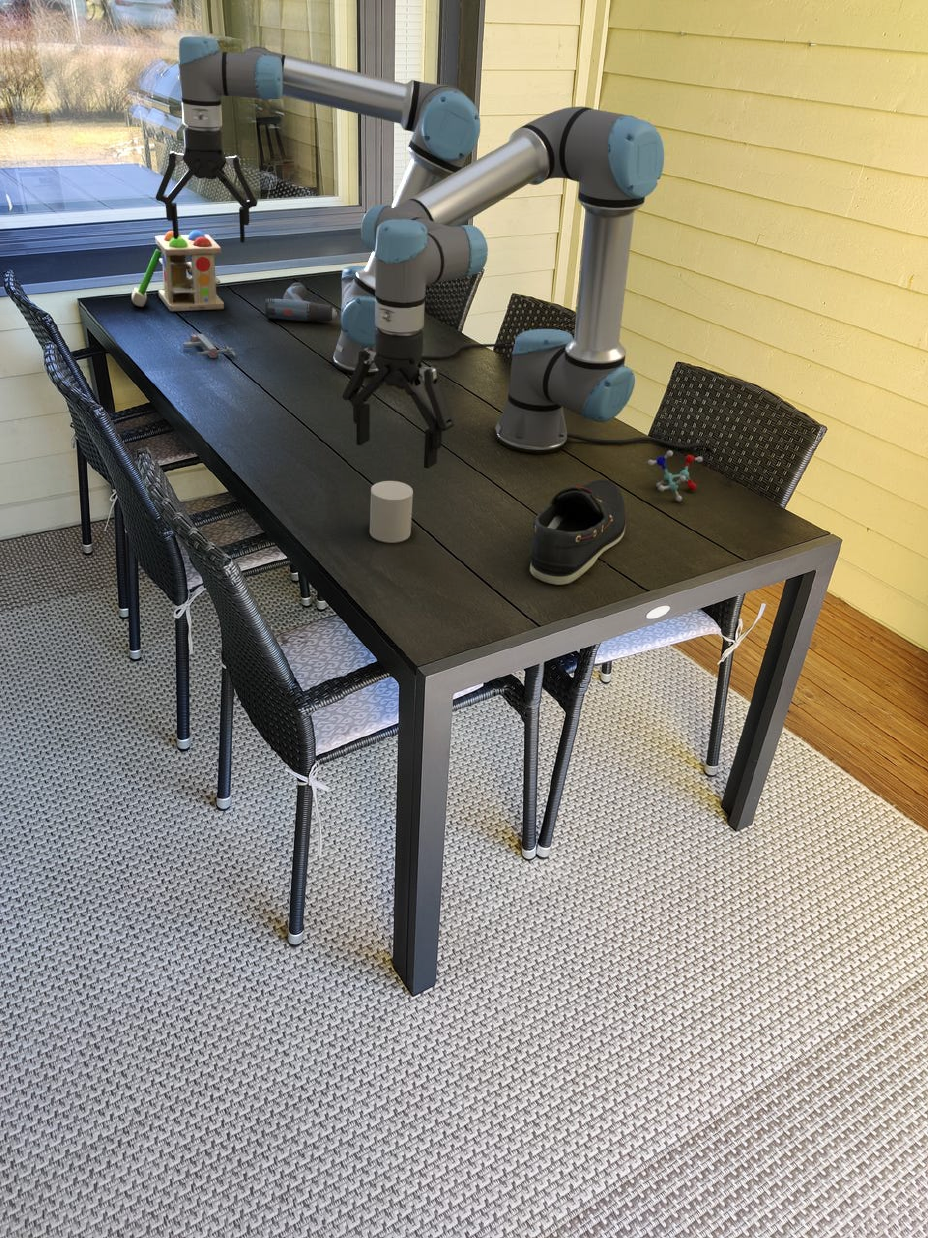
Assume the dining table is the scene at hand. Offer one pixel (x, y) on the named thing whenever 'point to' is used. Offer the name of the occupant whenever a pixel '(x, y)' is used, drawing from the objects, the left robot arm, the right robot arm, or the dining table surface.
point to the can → (391, 511)
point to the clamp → (206, 346)
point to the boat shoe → (576, 531)
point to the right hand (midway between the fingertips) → (396, 453)
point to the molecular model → (669, 477)
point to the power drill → (298, 307)
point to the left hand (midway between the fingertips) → (209, 239)
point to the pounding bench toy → (184, 273)
